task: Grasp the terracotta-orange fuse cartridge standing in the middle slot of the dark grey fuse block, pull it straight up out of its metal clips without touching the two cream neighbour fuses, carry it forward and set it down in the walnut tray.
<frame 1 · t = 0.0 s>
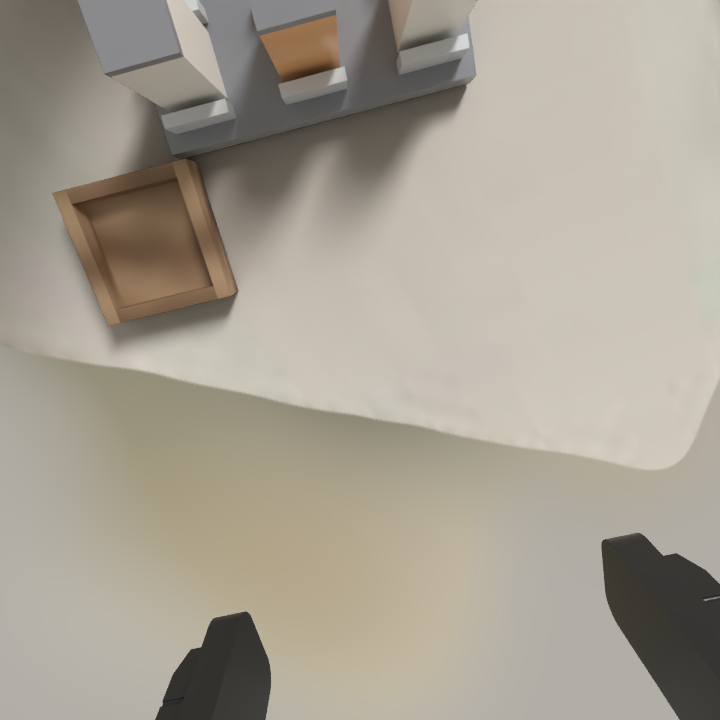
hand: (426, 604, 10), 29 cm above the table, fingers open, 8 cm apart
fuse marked: (303, 42, 30), point 2 cm above the table, touching fuse block
tray: (158, 244, 35), on the table
fuse block: (306, 53, 32), on the table
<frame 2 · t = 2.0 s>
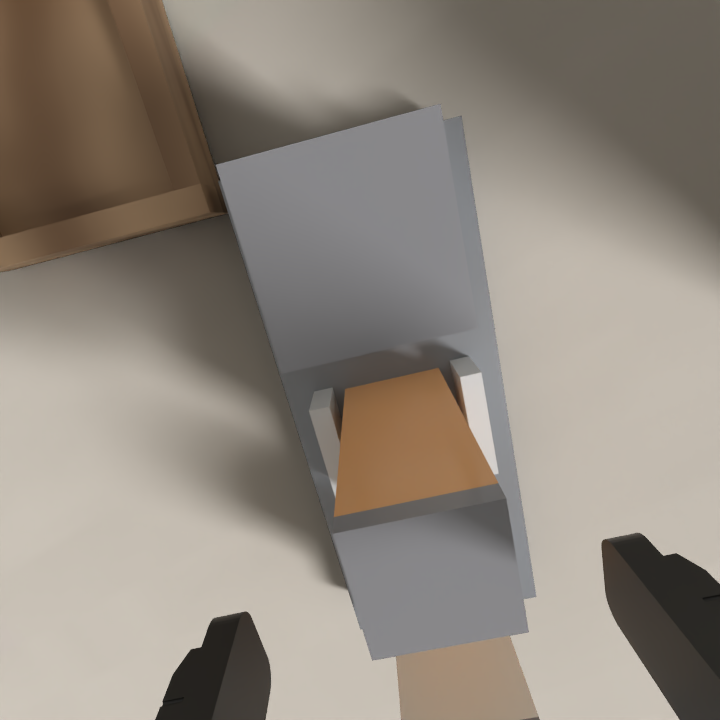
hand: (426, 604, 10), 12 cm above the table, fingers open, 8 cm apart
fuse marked: (401, 420, 19), point 2 cm above the table, touching fuse block
tray: (66, 114, 17), on the table
fuse block: (397, 402, 21), on the table
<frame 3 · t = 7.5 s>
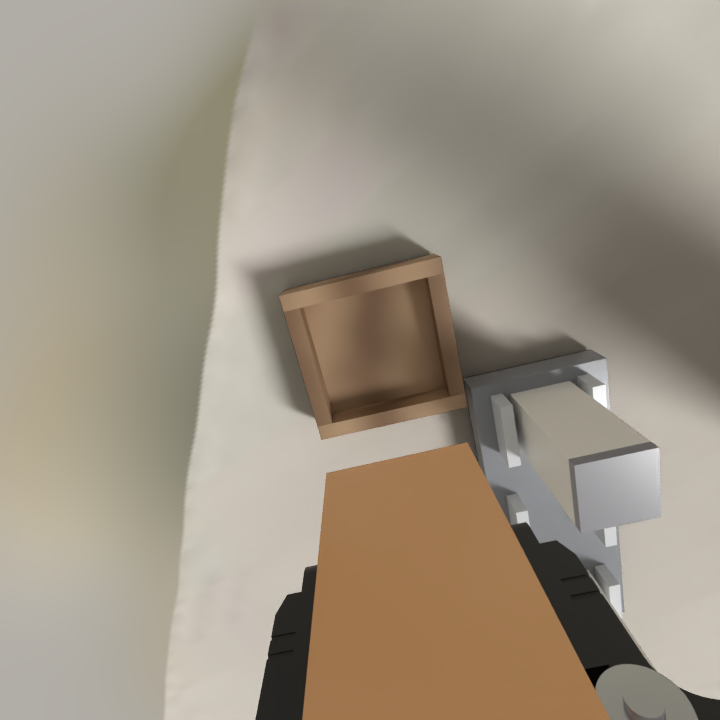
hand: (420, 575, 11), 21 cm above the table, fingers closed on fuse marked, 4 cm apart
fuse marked: (410, 516, 13), point 19 cm above the table, touching gripper
tray: (375, 343, 31), on the table
fuse block: (543, 494, 35), on the table
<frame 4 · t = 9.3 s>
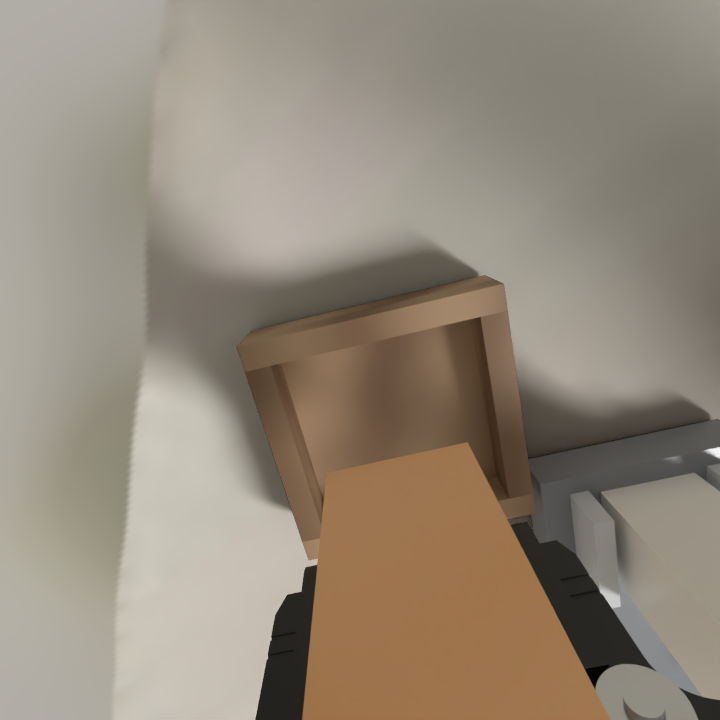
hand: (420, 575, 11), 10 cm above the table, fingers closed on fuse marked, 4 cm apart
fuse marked: (410, 516, 13), point 8 cm above the table, touching gripper
tray: (391, 410, 20), on the table
fuse block: (631, 617, 24), on the table
when the fingers open (5 cm above the table, at t = 11.1 s): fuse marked drops 2 cm, resting on tray.
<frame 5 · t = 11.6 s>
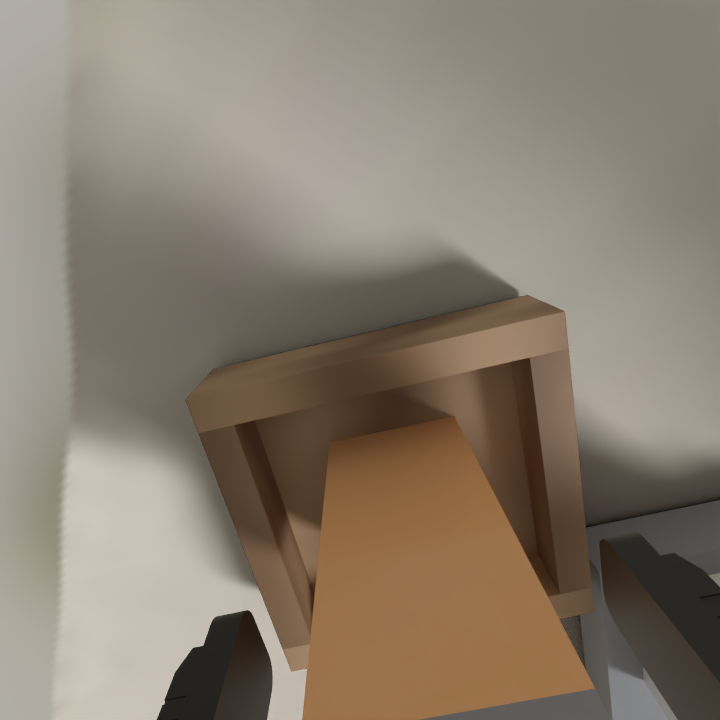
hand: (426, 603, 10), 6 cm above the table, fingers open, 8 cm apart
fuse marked: (403, 483, 15), point 1 cm above the table, touching tray
tray: (400, 469, 15), on the table
fuse block: (696, 714, 19), on the table
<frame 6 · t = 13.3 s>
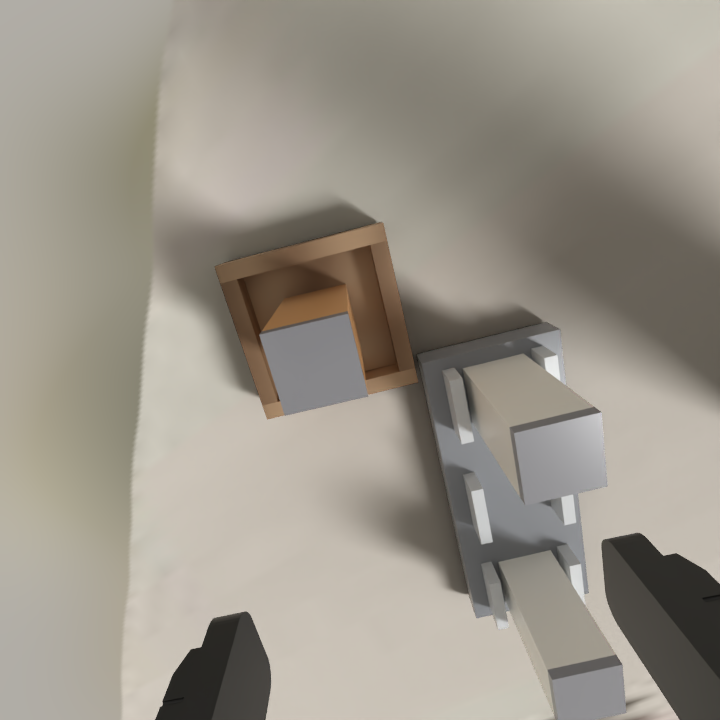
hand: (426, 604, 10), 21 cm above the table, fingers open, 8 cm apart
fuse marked: (322, 321, 29), point 1 cm above the table, touching tray
tray: (323, 318, 29), on the table
fuse block: (503, 474, 34), on the table
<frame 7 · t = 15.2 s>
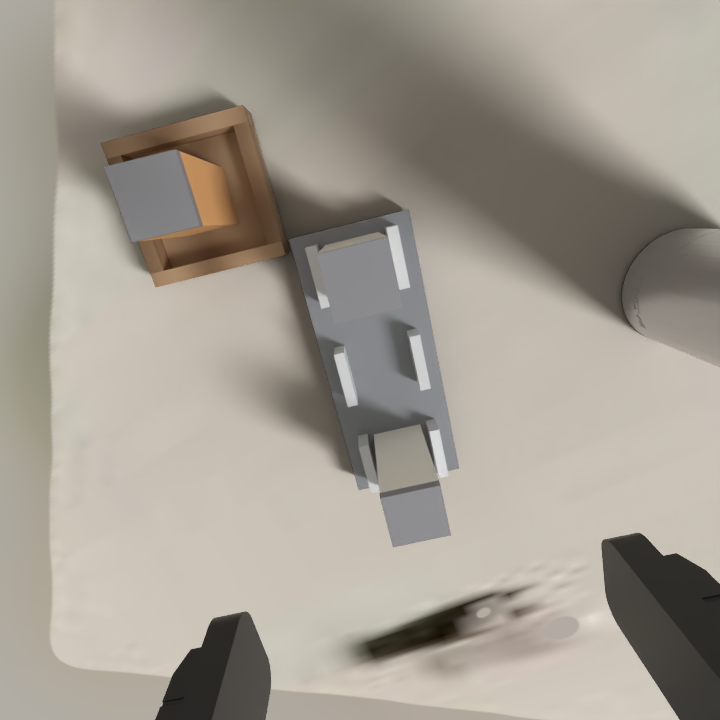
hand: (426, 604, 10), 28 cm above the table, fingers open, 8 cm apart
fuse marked: (204, 202, 33), point 1 cm above the table, touching tray
tray: (207, 202, 34), on the table
fuse block: (379, 356, 38), on the table
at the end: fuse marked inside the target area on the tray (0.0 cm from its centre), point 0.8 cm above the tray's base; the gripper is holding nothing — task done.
